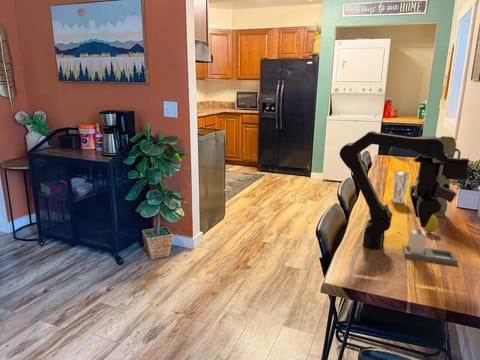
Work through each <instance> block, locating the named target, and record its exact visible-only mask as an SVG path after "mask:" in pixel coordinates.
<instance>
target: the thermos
mask: <svg viewBox="0 0 480 360" xmlns="http://www.w3.org/2000/svg"><path fill="white" fill-rule="evenodd" d="M438 138H440V139H441V141H442V142H443V145H444V150H443V151H444V152H445V154H447V156H448V158H455V153H456V152H457V153H458V154H457V158H459V159H461V154H462V153H461V151H460V149H459V148H457V142H456V141H457V140H456V138H454V136H446V135H445V136H443V135H442V136H439V137H438ZM433 160H436V161H439V160H438V159H436V158H435V157H433ZM441 170H442V165H441V164H440V170H439V175H438V182H439V183H440V185H441V184H443V183H446V184H448V185H449V186H450V184H451V180H452V179H445V178H444V175H441ZM433 199H437V200H438V201H439V202H440V204H441V205H442V208H441V211H439V212H438V213H434V214H433V215H434V216H435V217H436V218H437V219H438V218H445V217H446V211H447V208H448V201H447V200H445V199H443V198H440V197H438V198H433Z"/></svg>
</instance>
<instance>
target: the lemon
mask: <svg viewBox="0 0 480 360" xmlns="http://www.w3.org/2000/svg"><path fill="white" fill-rule="evenodd" d="M438 228H439V219H438V217H435V216H434V215H433V214H432V216H431V217H430V219H429V221H428V223H427V225H426V227H425V228H424V227H422V229H423V231H424V232H425V233H426V234H431V233H434V232H436V231H437V229H438Z"/></svg>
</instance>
